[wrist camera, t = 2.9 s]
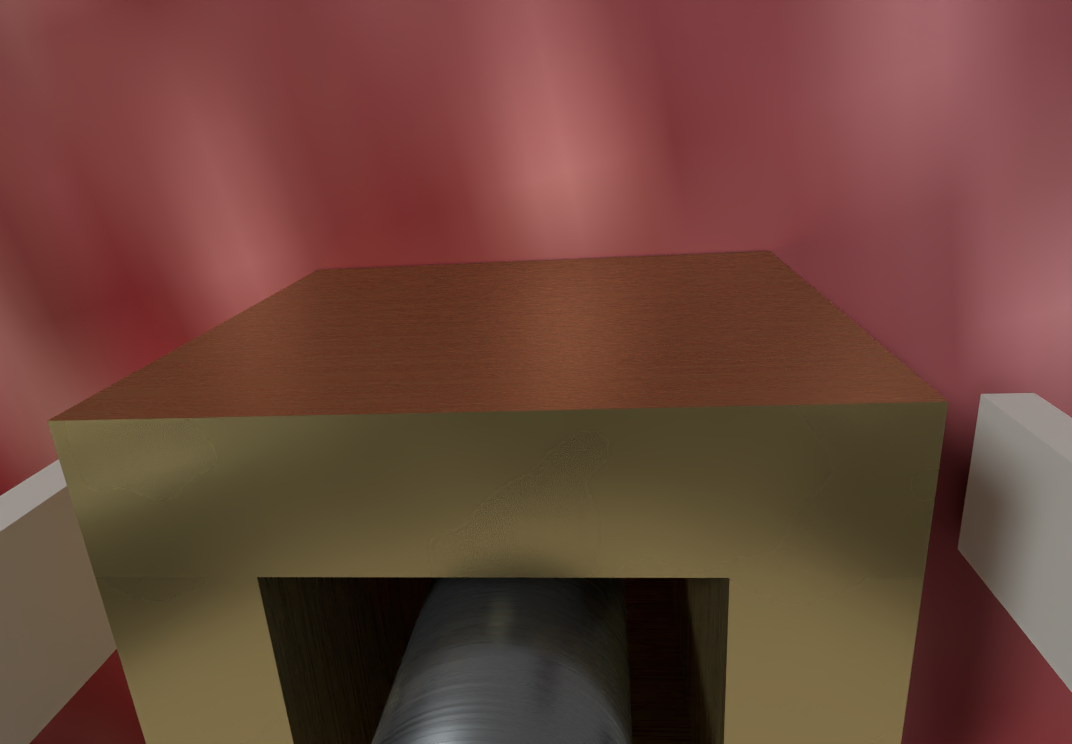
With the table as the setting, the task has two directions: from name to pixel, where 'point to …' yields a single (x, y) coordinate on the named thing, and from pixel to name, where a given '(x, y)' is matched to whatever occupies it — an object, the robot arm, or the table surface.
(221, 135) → the table surface
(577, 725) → the stand rod
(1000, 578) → the robot arm
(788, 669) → the collar
